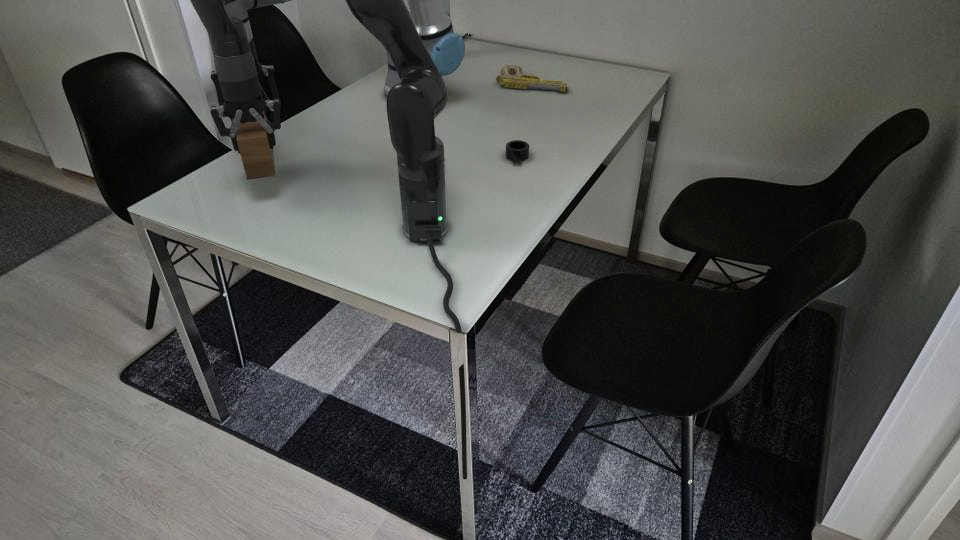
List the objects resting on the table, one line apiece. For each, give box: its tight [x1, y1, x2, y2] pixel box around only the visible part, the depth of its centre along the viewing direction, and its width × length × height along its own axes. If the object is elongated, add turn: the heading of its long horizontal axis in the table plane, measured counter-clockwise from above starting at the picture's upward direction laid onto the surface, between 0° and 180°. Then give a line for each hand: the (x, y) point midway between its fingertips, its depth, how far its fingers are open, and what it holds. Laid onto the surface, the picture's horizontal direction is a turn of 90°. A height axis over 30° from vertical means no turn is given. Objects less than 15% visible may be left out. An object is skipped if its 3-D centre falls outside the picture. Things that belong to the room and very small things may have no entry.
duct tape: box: [505, 139, 530, 163], centre depth 157 cm, size 8×10×3 cm
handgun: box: [495, 64, 569, 94], centre depth 196 cm, size 2×23×15 cm
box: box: [237, 108, 277, 181], centre depth 141 cm, size 21×6×10 cm, turn 17°
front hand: (255, 149), depth 136 cm, fingers closed on box, 6 cm apart
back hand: (258, 140), depth 149 cm, fingers closed on box, 6 cm apart
